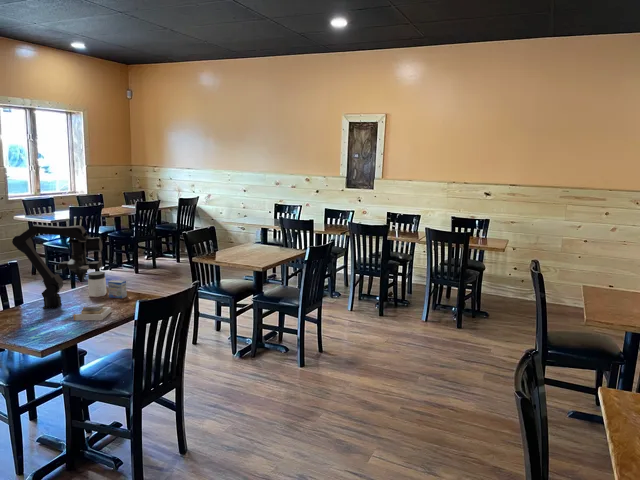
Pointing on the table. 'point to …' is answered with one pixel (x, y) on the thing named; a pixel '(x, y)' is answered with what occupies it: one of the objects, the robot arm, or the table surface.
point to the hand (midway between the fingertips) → (81, 282)
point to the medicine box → (117, 289)
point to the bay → (93, 315)
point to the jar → (97, 284)
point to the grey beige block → (92, 310)
